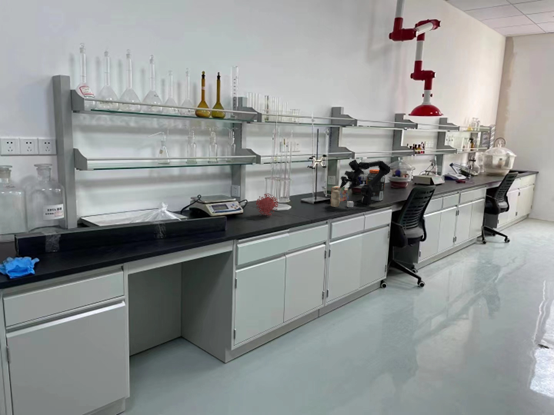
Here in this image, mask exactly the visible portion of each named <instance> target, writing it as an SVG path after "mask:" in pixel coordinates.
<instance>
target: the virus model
mask: <svg viewBox="0 0 554 415" xmlns="http://www.w3.org/2000/svg"><path fill="white" fill-rule="evenodd" d="M263 195H264V196H259V198H257V200H256V203H255V204H256V205H257V206H256V209H258V212H259V213H260V214H261V215H267V216H272V215H273V213H272V212H271V211H274V210H277V211H278V207H279V201H278V199H277V197H275V195H274V194H272V195H271V194H270V193H268V194H267V193H264V194H263Z"/></svg>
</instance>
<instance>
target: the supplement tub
mask: <svg viewBox="0 0 554 415" xmlns="http://www.w3.org/2000/svg"><path fill="white" fill-rule="evenodd" d="M368 172H369V173H368V174H367V175H366V184H369V183H370V181H371V180H372V179H373V178H374V177H375V176H376V175H377V174H378V173H379V169H374V168H373V169H369V171H368ZM385 186H386V175H385V176H383V177H382V178H381V179H380V180H379V182H378V183H377V184H376V185H375V186H374V187H373V190H372V193H373V197H371V201H379V202H380V201H382V200H384V194H385Z"/></svg>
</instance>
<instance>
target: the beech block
mask: <svg viewBox="0 0 554 415" xmlns="http://www.w3.org/2000/svg"><path fill="white" fill-rule="evenodd" d="M339 199H340V191H337V190H335V191H332V196H331V195H330V206H331V207H333V208H334V207H335V208H337V207H340V203H339Z"/></svg>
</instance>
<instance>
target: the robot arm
mask: <svg viewBox="0 0 554 415" xmlns="http://www.w3.org/2000/svg"><path fill="white" fill-rule="evenodd" d="M348 166H349V168H350V169H351V170H350V171H349V170H345V172H344V175H342V176H340V180H341V184H340V185H339V186H340V188H342V187H343V186H345V187H346V185H347V184H348V183H351V184H350V185H349V186H348V188H347V189H348V190H349V191H350V190H351V189H354V188H357V187H360V186H361V184H362V183H361V182H360V180H359V179H360V178H359V177H360V176H361V175H364V174H365V173H364V172H365V171H366V170H368V169H369V170H370V168H374V167H377V168H378V170H379V173H378V174H377V175H376V176H375V177H374V178H373V179H372V180H371V181H370V183H369V184H365V183H364V184H363V185H362V186H361V188H360V193H361V194H360V195H361V196H362V199H361V204H363V205H372V200H371V197H373V193H372V190H373V187H374V186H375V185H376V184H377V183H378V182H379V180H380V179H381V178H382V177H383V176H385V177H386V176H387V175H389V174H390V172H391V166H389V165H388V164H386V163H385V161H383V160H380V159H378V160H375V161H368V162H365V161H359V162H357V160H356V159H353V160H351V161H350V162H349V163H348Z"/></svg>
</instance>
